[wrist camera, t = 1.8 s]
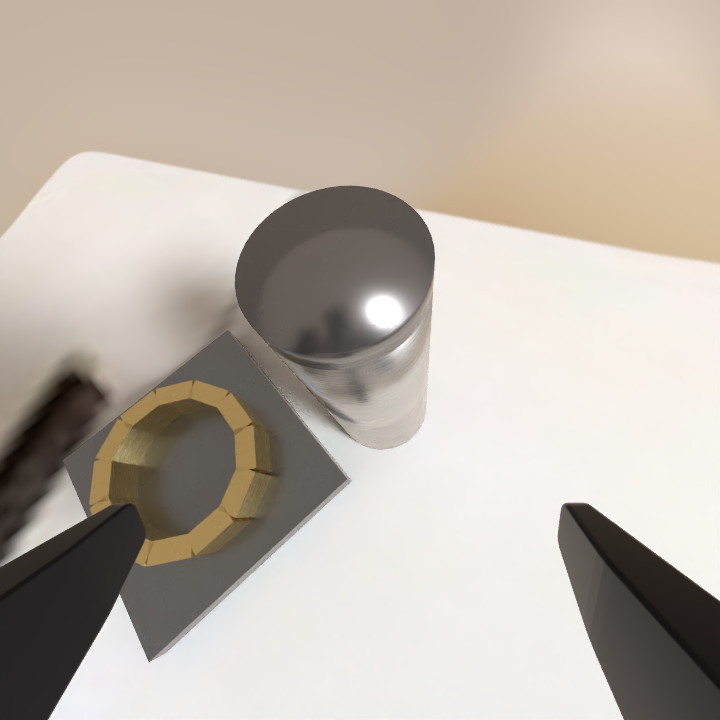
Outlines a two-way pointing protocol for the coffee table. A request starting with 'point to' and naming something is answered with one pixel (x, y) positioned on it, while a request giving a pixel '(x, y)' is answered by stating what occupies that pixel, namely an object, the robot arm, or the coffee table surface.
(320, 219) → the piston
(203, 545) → the plate with tan ring
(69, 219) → the coffee table surface
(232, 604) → the coffee table surface
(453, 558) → the coffee table surface
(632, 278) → the coffee table surface
